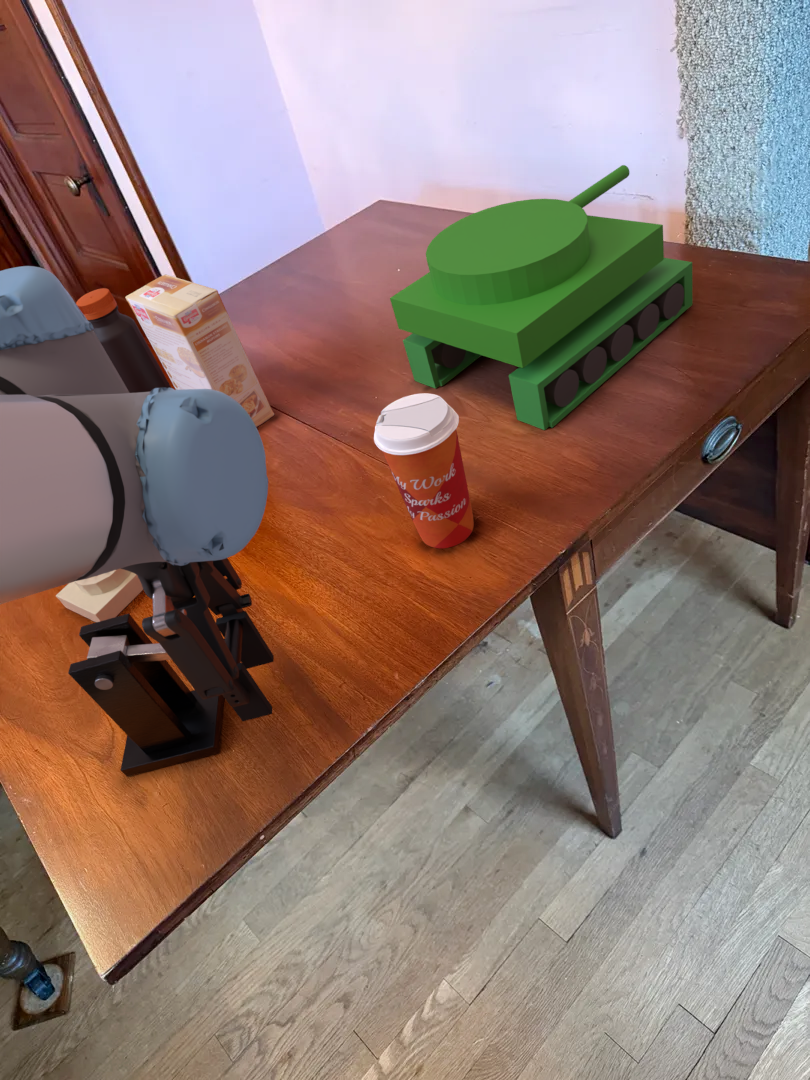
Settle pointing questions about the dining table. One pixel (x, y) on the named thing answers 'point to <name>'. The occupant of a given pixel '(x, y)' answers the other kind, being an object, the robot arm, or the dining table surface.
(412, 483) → the coffee cup
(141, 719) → the switch bracket
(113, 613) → the button housing
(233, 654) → the switch lever
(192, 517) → the robot arm
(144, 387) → the bottle
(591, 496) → the dining table surface
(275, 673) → the dining table surface
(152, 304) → the coffeecake box
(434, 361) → the tank
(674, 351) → the dining table surface
